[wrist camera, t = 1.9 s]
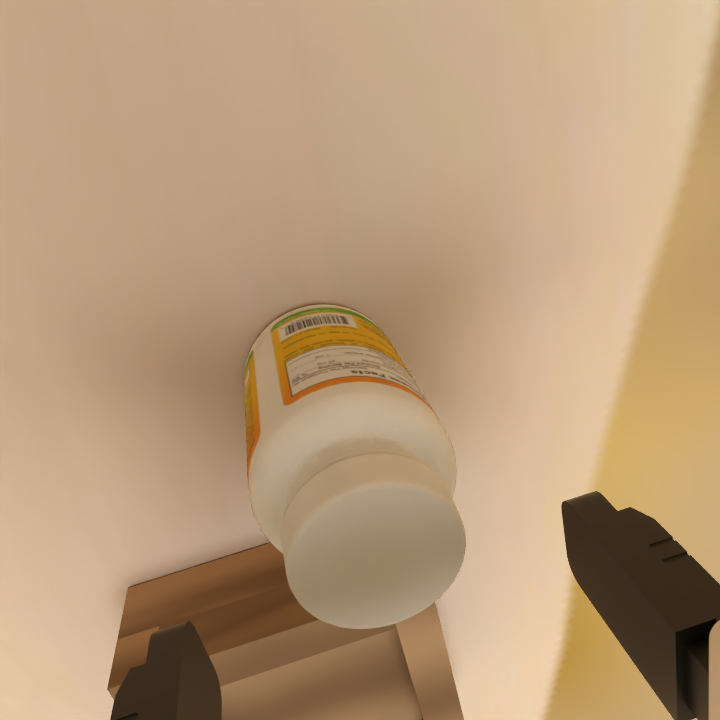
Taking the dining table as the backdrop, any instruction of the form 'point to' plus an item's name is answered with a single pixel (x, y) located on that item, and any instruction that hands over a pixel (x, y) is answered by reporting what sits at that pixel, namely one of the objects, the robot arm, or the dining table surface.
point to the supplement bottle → (349, 470)
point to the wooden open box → (290, 647)
